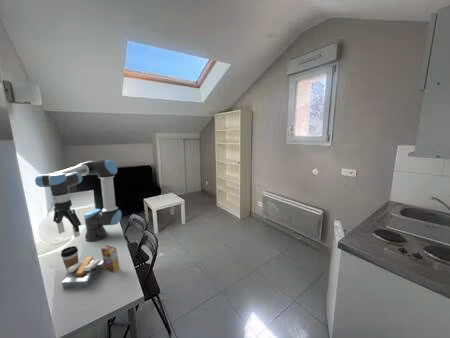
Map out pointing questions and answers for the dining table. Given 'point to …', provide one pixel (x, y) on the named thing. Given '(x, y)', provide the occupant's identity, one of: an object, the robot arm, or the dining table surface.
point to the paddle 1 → (75, 266)
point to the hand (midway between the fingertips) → (69, 234)
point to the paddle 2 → (92, 265)
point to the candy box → (110, 258)
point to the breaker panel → (83, 277)
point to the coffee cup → (69, 256)
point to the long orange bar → (84, 265)
